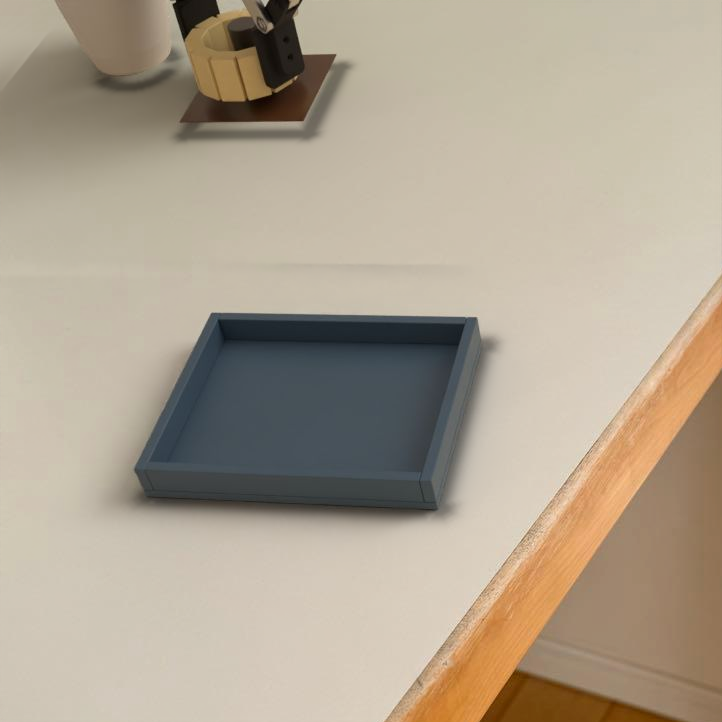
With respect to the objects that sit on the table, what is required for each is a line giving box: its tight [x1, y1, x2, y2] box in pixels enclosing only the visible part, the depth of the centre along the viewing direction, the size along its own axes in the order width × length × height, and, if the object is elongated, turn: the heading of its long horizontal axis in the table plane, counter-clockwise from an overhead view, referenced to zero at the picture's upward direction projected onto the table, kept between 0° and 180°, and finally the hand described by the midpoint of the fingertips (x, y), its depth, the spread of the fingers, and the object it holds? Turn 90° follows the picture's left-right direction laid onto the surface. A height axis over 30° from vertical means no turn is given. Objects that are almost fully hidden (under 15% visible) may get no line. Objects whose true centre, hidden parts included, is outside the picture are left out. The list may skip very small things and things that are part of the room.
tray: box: [133, 312, 483, 510], centre depth 65 cm, size 15×12×2 cm
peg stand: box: [179, 17, 338, 124], centre depth 86 cm, size 9×9×6 cm
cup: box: [54, 0, 172, 76], centre depth 90 cm, size 8×8×10 cm
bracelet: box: [183, 8, 298, 101], centre depth 86 cm, size 7×7×3 cm
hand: (246, 63), depth 86 cm, fingers closed on bracelet, 7 cm apart
